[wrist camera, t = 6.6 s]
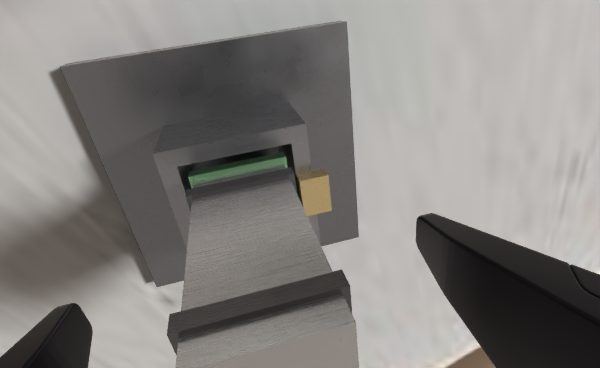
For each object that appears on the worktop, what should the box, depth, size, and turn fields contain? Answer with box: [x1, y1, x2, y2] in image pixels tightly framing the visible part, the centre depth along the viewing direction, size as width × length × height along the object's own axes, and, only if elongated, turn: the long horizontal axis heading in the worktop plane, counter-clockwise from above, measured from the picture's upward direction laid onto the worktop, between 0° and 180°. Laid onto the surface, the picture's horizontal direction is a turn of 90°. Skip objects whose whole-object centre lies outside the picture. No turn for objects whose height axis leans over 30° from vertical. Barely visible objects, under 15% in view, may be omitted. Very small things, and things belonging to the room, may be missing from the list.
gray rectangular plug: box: [167, 152, 359, 368], centre depth 13 cm, size 4×4×10 cm
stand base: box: [60, 21, 359, 287], centre depth 19 cm, size 14×14×6 cm
